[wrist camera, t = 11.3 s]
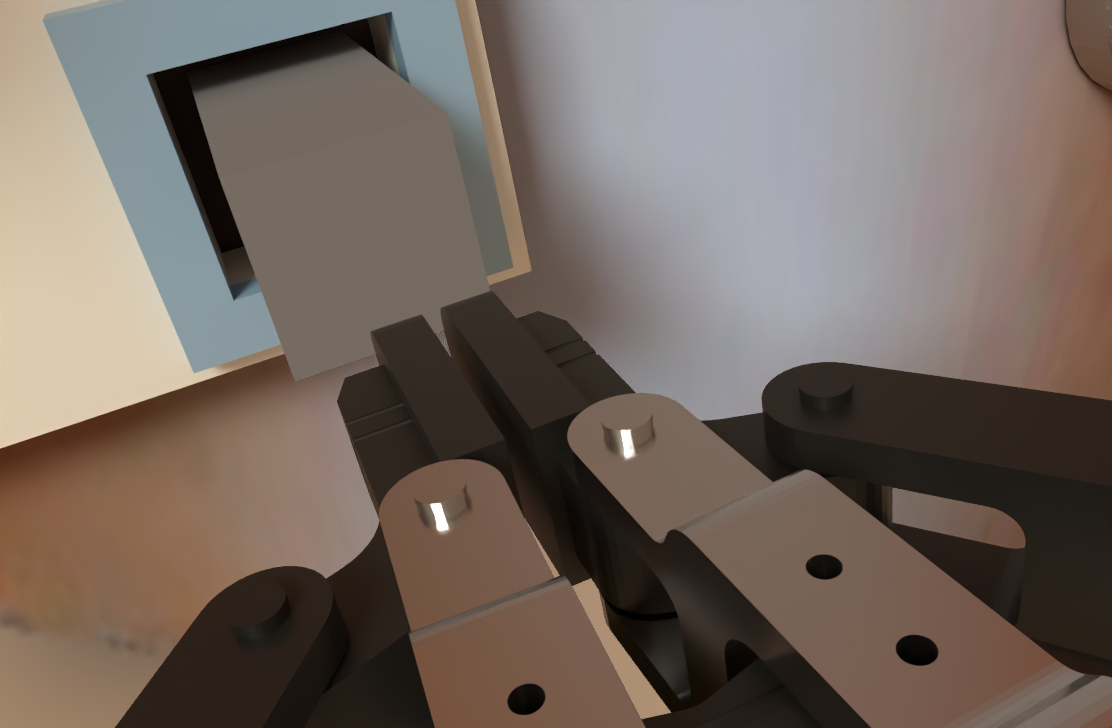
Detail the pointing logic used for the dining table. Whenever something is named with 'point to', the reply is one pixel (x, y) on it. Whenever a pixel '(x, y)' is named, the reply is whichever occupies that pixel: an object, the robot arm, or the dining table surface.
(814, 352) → the dining table surface
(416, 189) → the plug
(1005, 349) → the dining table surface
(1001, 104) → the dining table surface
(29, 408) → the socket block
